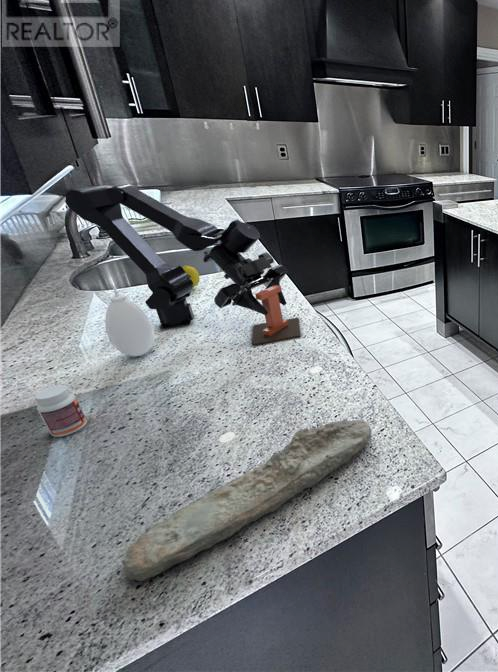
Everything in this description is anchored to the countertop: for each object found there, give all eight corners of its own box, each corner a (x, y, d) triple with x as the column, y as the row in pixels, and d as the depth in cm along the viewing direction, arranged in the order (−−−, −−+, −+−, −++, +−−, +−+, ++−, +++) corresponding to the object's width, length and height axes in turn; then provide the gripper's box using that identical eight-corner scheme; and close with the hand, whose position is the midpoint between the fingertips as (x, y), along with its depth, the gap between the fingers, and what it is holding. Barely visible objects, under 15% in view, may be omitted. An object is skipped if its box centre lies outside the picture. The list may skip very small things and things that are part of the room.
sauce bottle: (111, 357, 96) (82, 287, 88) (150, 342, 102) (126, 276, 95) (127, 367, 92) (98, 296, 85) (167, 351, 99) (143, 284, 92)
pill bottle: (93, 423, 76) (76, 387, 73) (61, 440, 72) (41, 403, 69) (77, 416, 78) (60, 380, 74) (44, 433, 74) (24, 396, 70)
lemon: (206, 286, 134) (200, 263, 130) (192, 292, 129) (185, 269, 125) (191, 284, 134) (184, 262, 131) (176, 291, 129) (169, 268, 126)
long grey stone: (123, 555, 56) (141, 612, 50) (107, 533, 54) (124, 590, 48) (354, 417, 80) (383, 445, 74) (350, 397, 77) (380, 425, 72)
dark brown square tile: (252, 345, 103) (252, 344, 102) (254, 326, 111) (253, 324, 111) (300, 336, 108) (300, 335, 107) (298, 318, 116) (298, 317, 116)
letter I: (263, 334, 107) (254, 293, 102) (282, 323, 112) (274, 284, 108) (270, 336, 106) (261, 295, 101) (289, 325, 112) (281, 285, 107)
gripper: (210, 257, 93) (259, 308, 94) (276, 236, 109) (316, 279, 111) (194, 283, 98) (240, 331, 99) (258, 259, 114) (297, 301, 116)
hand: (276, 309), depth 106 cm, fingers closed on letter I, 6 cm apart
